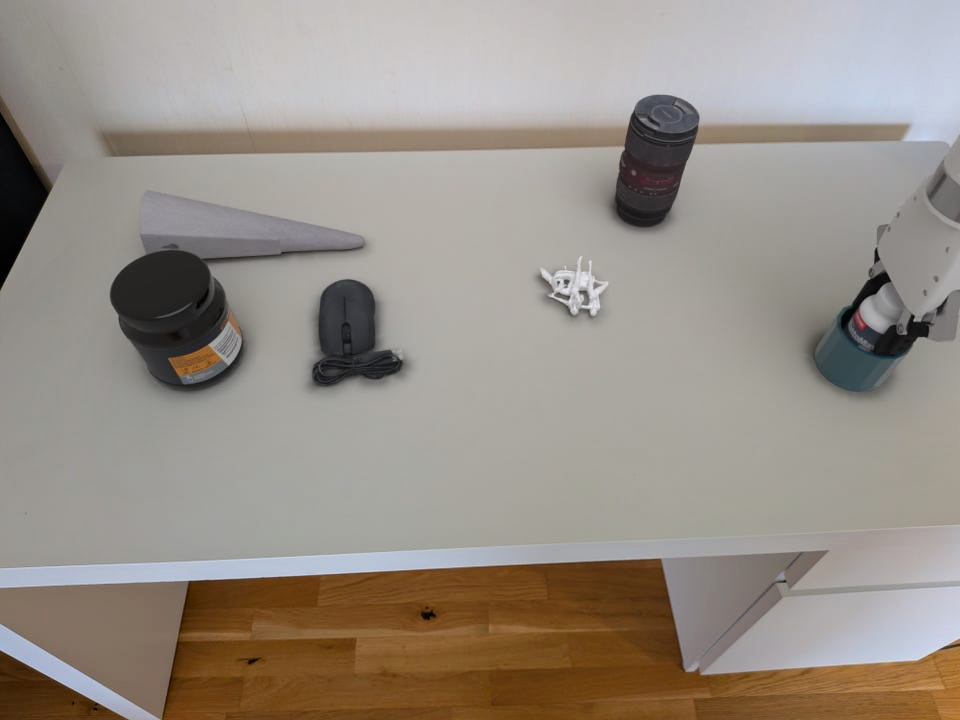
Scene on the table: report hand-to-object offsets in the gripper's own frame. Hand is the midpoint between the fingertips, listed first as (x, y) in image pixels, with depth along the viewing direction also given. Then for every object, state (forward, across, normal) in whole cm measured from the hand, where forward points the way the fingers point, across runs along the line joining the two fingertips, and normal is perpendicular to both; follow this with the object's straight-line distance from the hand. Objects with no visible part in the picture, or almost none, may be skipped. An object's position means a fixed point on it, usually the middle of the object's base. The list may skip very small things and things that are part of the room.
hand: (877, 327), depth 71 cm
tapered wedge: (+6, +22, +69) cm, 73 cm away
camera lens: (+6, +26, +19) cm, 33 cm away
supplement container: (+6, +3, +73) cm, 74 cm away
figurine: (+6, +11, +30) cm, 33 cm away
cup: (+6, 0, 0) cm, 6 cm away
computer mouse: (+6, +6, +56) cm, 57 cm away
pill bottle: (+4, 0, 0) cm, 4 cm away
